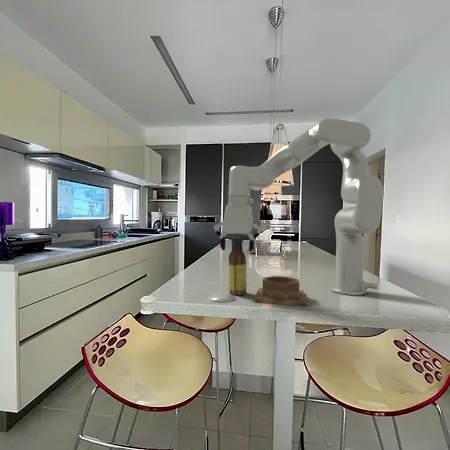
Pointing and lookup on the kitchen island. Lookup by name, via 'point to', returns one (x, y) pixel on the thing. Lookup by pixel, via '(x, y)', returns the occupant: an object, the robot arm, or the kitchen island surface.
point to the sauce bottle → (237, 268)
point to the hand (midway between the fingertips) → (236, 250)
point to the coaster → (221, 298)
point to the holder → (281, 291)
